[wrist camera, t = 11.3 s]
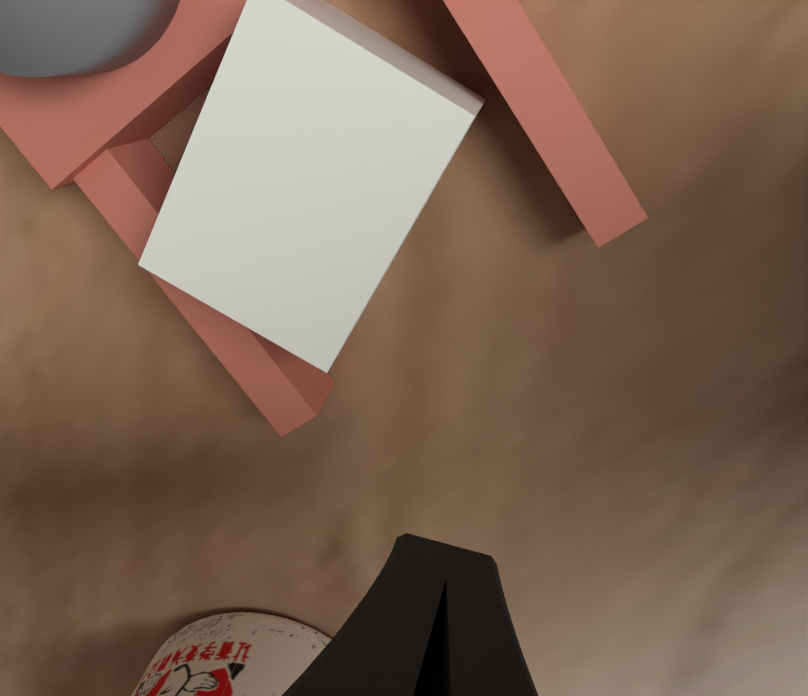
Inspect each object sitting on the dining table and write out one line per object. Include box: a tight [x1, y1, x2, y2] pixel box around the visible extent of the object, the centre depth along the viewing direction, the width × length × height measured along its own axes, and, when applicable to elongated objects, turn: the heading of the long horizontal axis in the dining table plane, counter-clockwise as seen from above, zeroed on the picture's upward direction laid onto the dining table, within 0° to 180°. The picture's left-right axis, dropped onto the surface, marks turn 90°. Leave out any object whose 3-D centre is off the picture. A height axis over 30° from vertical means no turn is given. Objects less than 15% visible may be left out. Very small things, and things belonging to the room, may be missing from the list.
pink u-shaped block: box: [0, 0, 648, 437], centre depth 15 cm, size 14×11×4 cm
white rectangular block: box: [138, 0, 486, 373], centre depth 16 cm, size 4×6×4 cm
